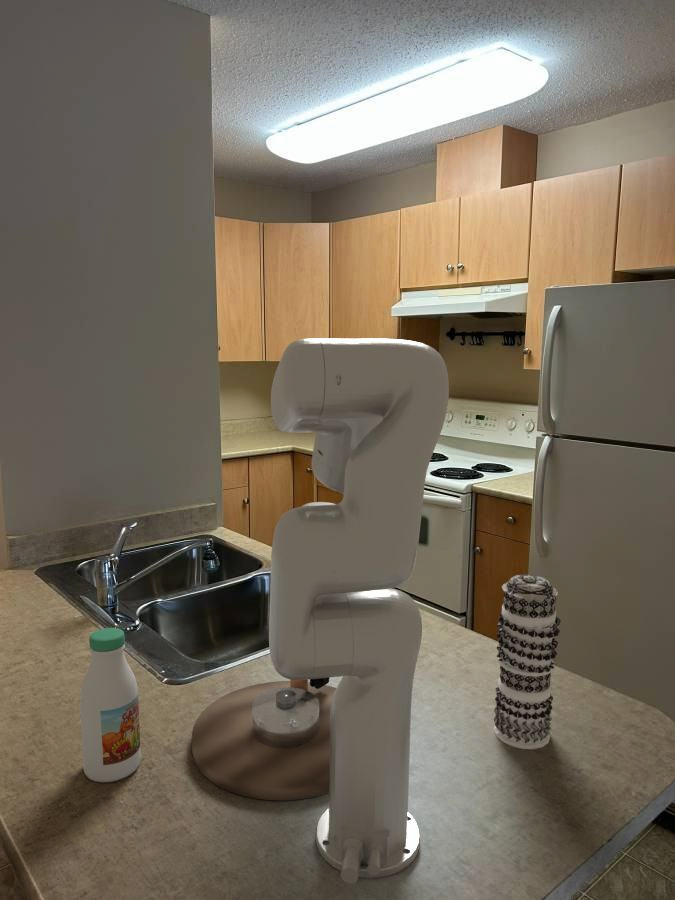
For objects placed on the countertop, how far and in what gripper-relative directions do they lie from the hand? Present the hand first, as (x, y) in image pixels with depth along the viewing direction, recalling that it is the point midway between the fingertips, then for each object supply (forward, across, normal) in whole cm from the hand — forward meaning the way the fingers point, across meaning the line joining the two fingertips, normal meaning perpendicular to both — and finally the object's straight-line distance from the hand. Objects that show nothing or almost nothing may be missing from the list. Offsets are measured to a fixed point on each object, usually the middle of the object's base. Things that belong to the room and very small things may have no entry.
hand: (319, 684), depth 111 cm
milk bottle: (+4, +12, +31) cm, 34 cm away
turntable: (+4, -3, +11) cm, 12 cm away
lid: (+2, -3, +12) cm, 12 cm away
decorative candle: (+4, -30, -14) cm, 33 cm away
